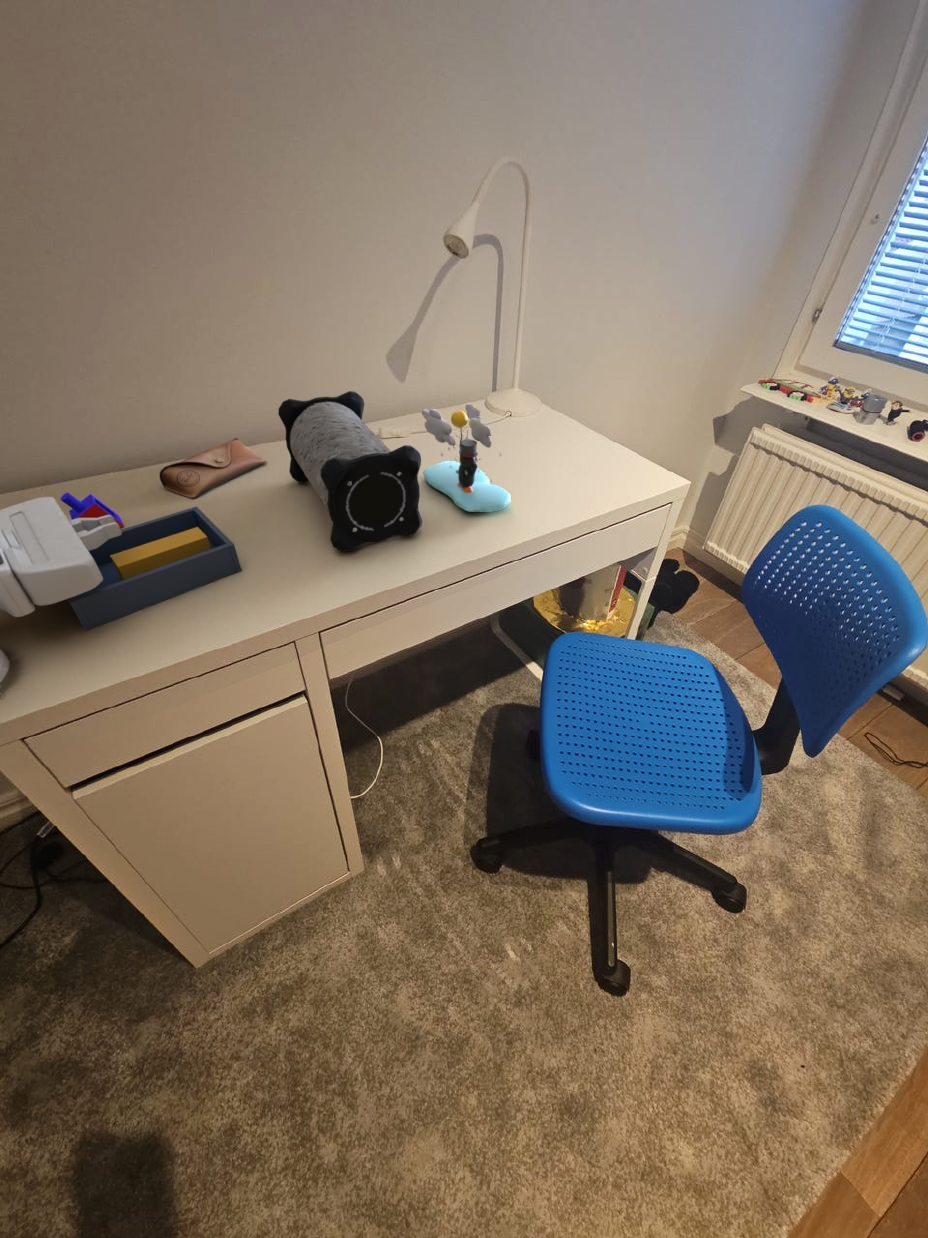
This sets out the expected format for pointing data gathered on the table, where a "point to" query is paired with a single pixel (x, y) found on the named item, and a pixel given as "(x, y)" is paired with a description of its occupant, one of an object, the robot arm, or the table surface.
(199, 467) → the sunglasses case
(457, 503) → the penguin figurine
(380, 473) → the speaker
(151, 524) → the bin
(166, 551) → the wooden stick
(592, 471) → the table surface
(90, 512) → the toy building block
